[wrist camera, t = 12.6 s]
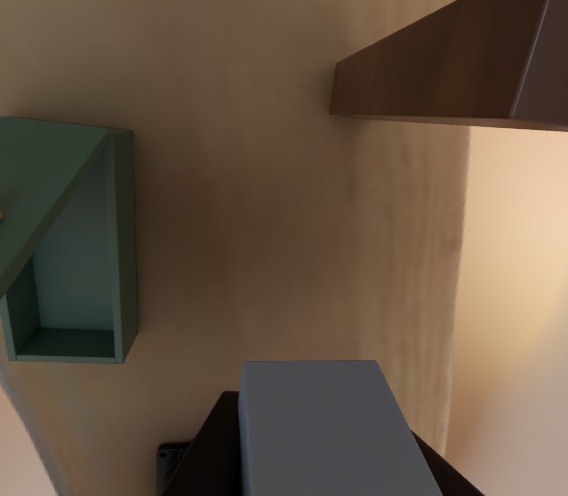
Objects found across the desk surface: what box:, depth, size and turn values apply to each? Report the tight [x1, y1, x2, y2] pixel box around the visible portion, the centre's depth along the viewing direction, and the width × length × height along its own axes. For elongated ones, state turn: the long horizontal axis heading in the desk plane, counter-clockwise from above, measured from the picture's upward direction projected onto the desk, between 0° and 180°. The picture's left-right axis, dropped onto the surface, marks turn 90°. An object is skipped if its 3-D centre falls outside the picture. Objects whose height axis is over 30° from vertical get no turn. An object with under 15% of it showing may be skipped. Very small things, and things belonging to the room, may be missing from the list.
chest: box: [0, 117, 138, 364], centre depth 18 cm, size 12×6×3 cm, turn 173°
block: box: [235, 360, 443, 496], centre depth 7 cm, size 3×3×3 cm
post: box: [329, 0, 568, 132], centre depth 12 cm, size 2×2×14 cm
